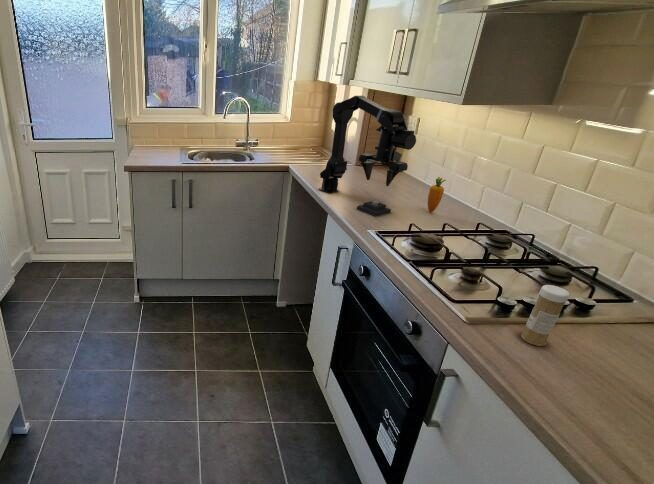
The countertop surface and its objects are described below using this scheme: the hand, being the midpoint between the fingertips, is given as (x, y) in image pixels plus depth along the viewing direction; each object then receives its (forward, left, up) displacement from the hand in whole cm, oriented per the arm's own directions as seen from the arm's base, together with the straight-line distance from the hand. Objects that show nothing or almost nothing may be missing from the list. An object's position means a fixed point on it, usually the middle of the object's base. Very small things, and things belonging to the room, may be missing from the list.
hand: (377, 182), depth 168 cm
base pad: (+3, -2, -11) cm, 11 cm away
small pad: (+2, -2, -9) cm, 10 cm away
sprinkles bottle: (+77, -41, -11) cm, 88 cm away
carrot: (+15, +17, -11) cm, 25 cm away
